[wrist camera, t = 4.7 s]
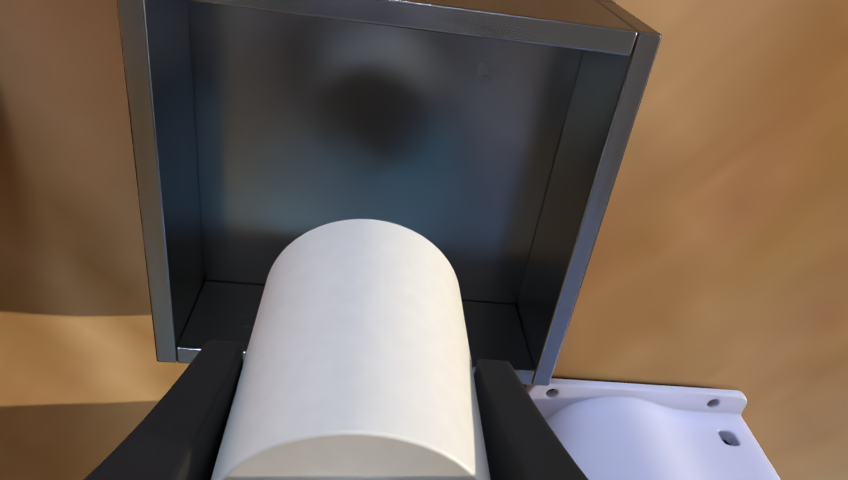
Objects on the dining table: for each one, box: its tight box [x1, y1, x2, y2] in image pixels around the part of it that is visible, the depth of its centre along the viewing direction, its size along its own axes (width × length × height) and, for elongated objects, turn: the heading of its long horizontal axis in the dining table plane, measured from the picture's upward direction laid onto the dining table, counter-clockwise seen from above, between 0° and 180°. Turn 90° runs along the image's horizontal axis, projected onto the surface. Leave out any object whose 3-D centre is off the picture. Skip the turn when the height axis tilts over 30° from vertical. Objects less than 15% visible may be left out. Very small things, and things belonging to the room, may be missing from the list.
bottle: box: [211, 219, 491, 480], centre depth 12 cm, size 5×5×8 cm
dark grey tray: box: [117, 0, 662, 386], centre depth 19 cm, size 12×11×4 cm
